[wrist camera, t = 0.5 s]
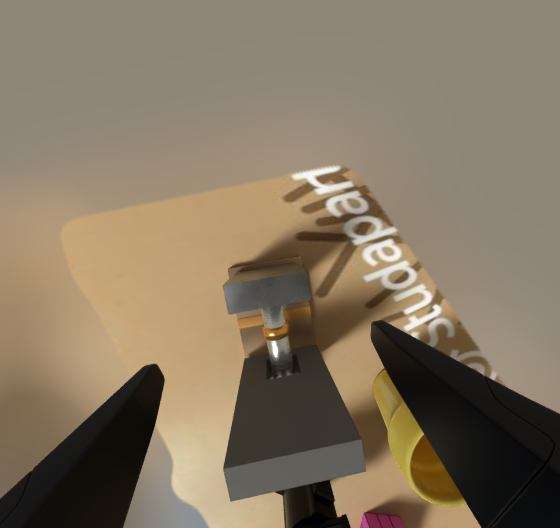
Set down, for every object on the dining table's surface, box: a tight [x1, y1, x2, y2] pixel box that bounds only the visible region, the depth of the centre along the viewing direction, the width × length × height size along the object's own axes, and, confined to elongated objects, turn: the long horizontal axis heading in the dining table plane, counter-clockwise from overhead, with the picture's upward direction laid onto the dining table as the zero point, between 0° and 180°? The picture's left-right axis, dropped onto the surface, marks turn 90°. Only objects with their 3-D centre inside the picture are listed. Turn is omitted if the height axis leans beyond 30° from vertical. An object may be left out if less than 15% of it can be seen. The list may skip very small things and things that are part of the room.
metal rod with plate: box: [223, 262, 311, 378], centre depth 22 cm, size 16×7×8 cm, turn 10°
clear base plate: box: [228, 256, 316, 379], centre depth 26 cm, size 18×9×1 cm, turn 10°
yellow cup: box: [373, 370, 467, 507], centre depth 24 cm, size 10×10×10 cm
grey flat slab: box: [223, 345, 366, 501], centre depth 20 cm, size 2×9×12 cm, turn 99°
